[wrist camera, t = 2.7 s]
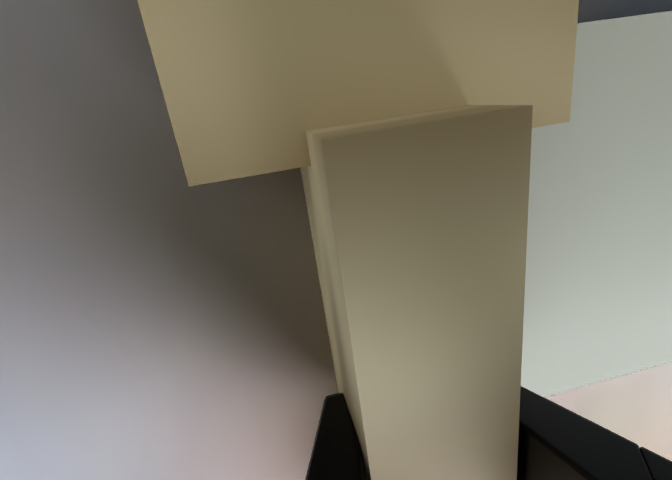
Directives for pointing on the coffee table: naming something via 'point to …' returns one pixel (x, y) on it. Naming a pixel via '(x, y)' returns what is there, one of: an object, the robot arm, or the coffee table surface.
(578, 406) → the coffee table surface
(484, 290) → the spatula
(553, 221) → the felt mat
